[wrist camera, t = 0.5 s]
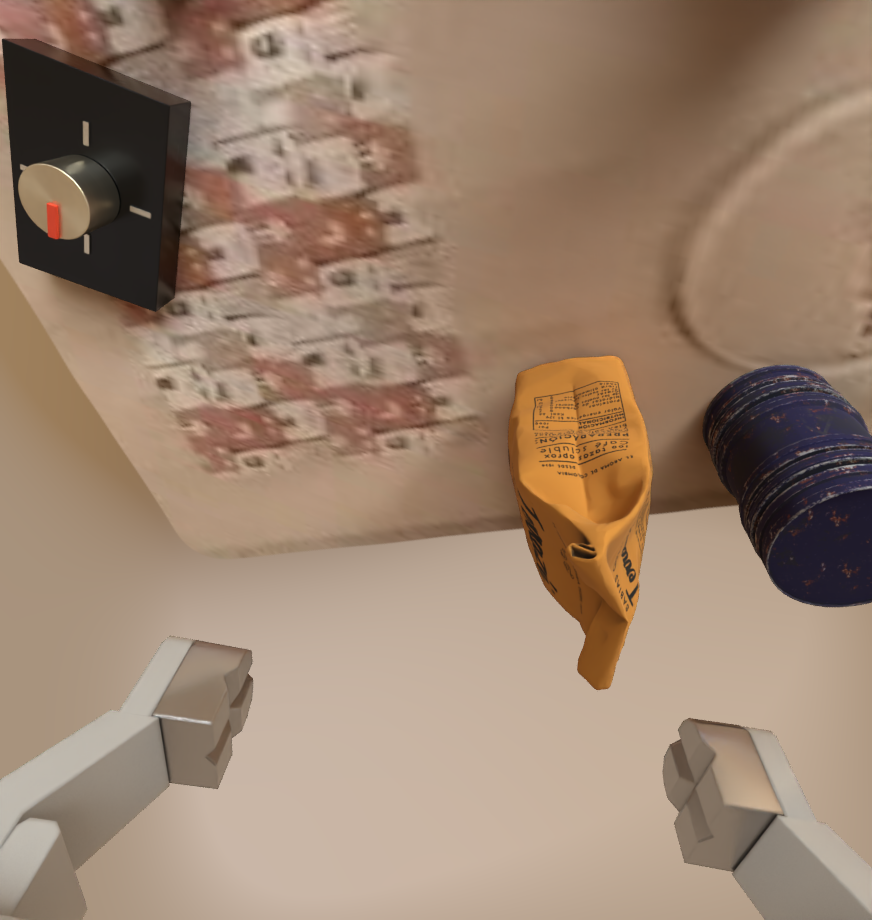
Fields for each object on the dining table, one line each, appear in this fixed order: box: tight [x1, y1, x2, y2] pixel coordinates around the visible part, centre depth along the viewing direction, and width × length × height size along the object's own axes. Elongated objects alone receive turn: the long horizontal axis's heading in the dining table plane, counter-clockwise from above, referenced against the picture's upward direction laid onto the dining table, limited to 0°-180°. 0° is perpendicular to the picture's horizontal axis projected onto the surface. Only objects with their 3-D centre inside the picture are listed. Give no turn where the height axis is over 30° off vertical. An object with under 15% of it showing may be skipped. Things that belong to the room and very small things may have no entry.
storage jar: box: [703, 365, 872, 607], centre depth 41 cm, size 10×10×15 cm
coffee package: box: [508, 356, 653, 690], centre depth 40 cm, size 10×12×22 cm
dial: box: [18, 155, 120, 240], centre depth 38 cm, size 4×4×4 cm
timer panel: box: [2, 39, 191, 312], centre depth 40 cm, size 14×10×3 cm
